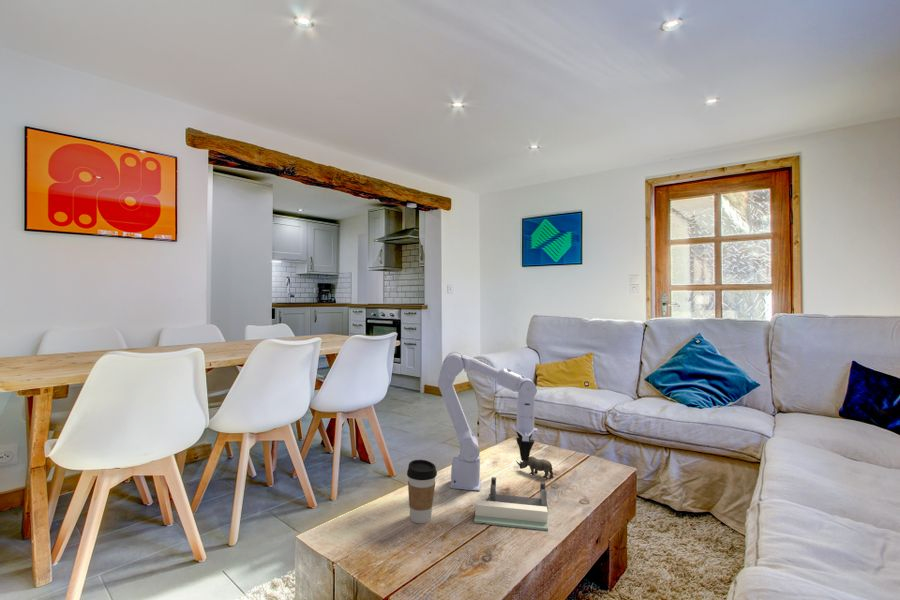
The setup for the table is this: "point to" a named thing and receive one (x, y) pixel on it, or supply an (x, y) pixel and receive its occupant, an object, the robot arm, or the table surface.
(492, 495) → the rack
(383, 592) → the table surface
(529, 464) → the rhino figurine
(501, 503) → the rail
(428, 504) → the coffee cup
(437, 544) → the table surface
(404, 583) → the table surface
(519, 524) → the mat
